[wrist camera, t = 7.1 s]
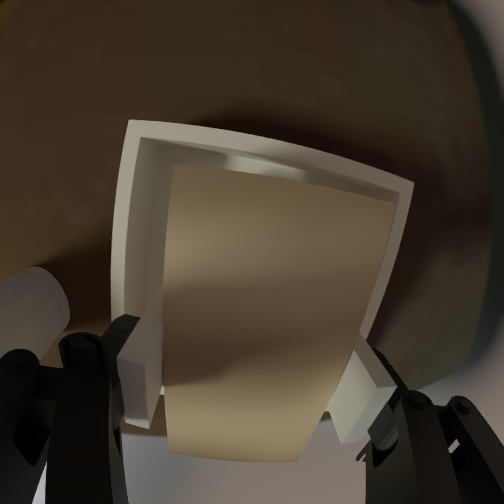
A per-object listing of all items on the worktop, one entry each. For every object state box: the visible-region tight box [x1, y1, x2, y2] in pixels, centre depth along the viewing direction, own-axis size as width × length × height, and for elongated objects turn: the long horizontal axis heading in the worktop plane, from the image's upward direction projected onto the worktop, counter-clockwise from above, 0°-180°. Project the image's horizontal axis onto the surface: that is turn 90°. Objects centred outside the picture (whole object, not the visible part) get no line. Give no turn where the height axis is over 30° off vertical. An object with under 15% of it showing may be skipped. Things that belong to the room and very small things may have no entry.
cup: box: [0, 267, 70, 361], centre depth 13 cm, size 8×8×12 cm
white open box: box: [111, 120, 414, 411], centre depth 16 cm, size 16×15×5 cm
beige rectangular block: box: [162, 164, 395, 462], centre depth 11 cm, size 12×6×5 cm, turn 171°
